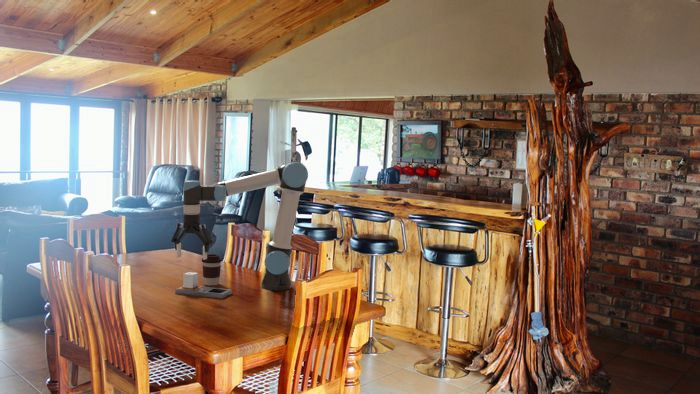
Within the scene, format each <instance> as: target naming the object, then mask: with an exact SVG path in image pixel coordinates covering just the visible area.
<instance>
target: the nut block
mask: <svg viewBox="0 0 700 394" xmlns="http://www.w3.org/2000/svg"><path fill="white" fill-rule="evenodd" d="M182 276H183V277H182V286H183V289H191V290H194V289H196V288H198V286H199V272H194V271H193V272H191V271H188V272H185V273H183V274H182Z"/></svg>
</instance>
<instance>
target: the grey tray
mask: <svg viewBox="0 0 700 394" xmlns="http://www.w3.org/2000/svg"><path fill="white" fill-rule="evenodd" d="M174 291H175V295H176V294H177V295H186V296H193V297H194V296H195V297H200V298H201V297H203V298H210V299H219V300H222V299H224V298H227V297H229V296H230V295H232V294H233V289H230V288H220V287H212V286H203V285H198V288H196V289H194V290H191V289H183V285H182V286H180V287H177V288H175V290H174Z"/></svg>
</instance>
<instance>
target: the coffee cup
mask: <svg viewBox="0 0 700 394" xmlns="http://www.w3.org/2000/svg"><path fill="white" fill-rule="evenodd" d="M201 262H202V277H203V284H204V285H205V286H218V285H219V284H220V277H221V266H222V262H223V258H222V257H220V255H219V254H212V253H211V254H210V253H207V259H205V260H203V257H202V258H201Z"/></svg>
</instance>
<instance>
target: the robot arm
mask: <svg viewBox="0 0 700 394" xmlns="http://www.w3.org/2000/svg"><path fill="white" fill-rule="evenodd" d="M308 178H309V172H308V168H307V167H306V165H304V164H303V163H302V162H299V161H296V160H295V161H294V160H292V161H290V162H288V163H285V164H283V165H282V164H281V165H279V166H276V167H275V168H274V169H272V170H271V169H270V170H266V171H263V172H258V173H254V174H250V175H246V176H241V177H238V178H232V179H229V180H224V181H220V182H213V183H212V184H208V185H207V184H201V182H200V180H185V181H184V182H183V189H182V191H183V192H182V193H183V222H178V223H177V224H176V225H177V227H176V229H175V232H174V234H173V236H172V238H171V240H170V241H171V243H174V246H175V247H174V249H175V250H174V251H176V258H182V243H181V242H182V240H183V239H184V237H185V236H187V234H194V235H197V237H198V238H199V240H200V241H201V242H202V244H203V245H202V258H203V260H205V259H207V255H208V253H209V251H210V249H209V247H210V246H209V245H212V244H213V243H214V242H213V240H212V238H211V236H210V234H209V231H208V229H207V224H206V223H204V224H201V214H200V213H201V202H219V203H220V202H225V201H226V199H227V197H230V196H233V195H238V194H242V193H247V192H251V191H255V190H260V189H263V188H264V189H265V188H270V187H272V186H276V185H279V188H280V190H281V197H280V201H279V204H278V205H279V207H278V209H277V210H278V211H277V216H276V221H275V225H274V226H275V227H274V229H273V236H272V240H271V241H269V242H268V241H267V242H266V245H265V258H264V266H265V273H264V275H263V278H262V280H261V284H260V285H261V287H260V288H261V289H263V290H269V291H274V292H276V291H277V292H278V291H280V292H281V291H289V290H291V289H292V285H293V284H292V280H291V276H290V274H289V271H290V269H289V268H290V265H291V258H292V257H291V256H292V251H293V246H292V244H291V242H292V241H291V240H292V235H293V232H294V226H295V221H296V216H297V210H298V207H299V206H298V205H299V202H300V197H301V195H303V194H304V193H305V188H306V185H307V181H308ZM183 228H184V229H183ZM182 229H183V230H182ZM181 230H182V232H181Z"/></svg>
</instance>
